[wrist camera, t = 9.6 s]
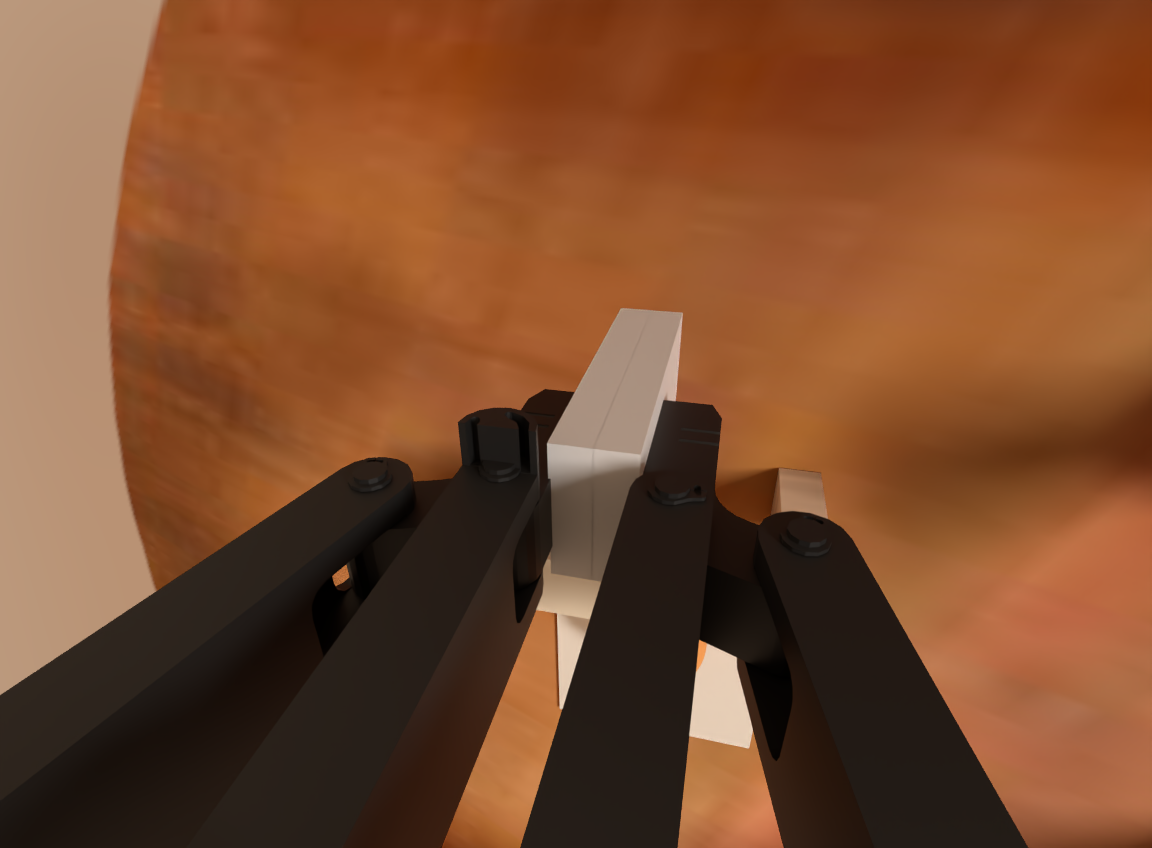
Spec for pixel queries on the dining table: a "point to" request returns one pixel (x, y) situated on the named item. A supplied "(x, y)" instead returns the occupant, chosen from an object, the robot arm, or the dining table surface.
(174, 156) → the dining table surface
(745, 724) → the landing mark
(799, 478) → the bridge
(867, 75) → the dining table surface
